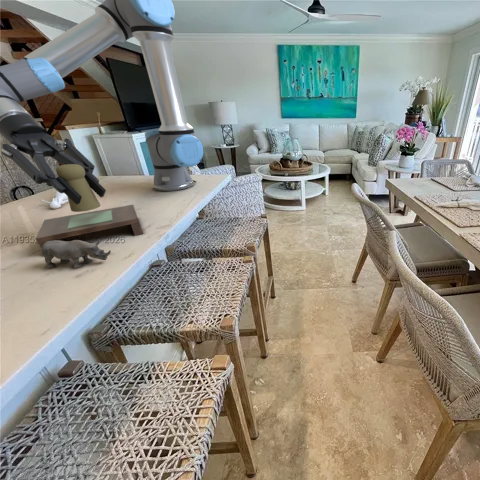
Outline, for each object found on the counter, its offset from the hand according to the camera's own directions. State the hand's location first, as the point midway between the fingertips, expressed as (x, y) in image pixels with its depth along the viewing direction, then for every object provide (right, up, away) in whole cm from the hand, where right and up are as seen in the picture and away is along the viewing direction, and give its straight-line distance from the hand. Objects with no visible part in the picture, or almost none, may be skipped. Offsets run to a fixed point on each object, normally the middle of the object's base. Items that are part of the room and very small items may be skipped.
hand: (91, 196), depth 66 cm
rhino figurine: (+5, -16, -7) cm, 19 cm away
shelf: (-3, -9, +6) cm, 12 cm away
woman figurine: (-37, +3, +31) cm, 48 cm away
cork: (-4, -3, +3) cm, 5 cm away
